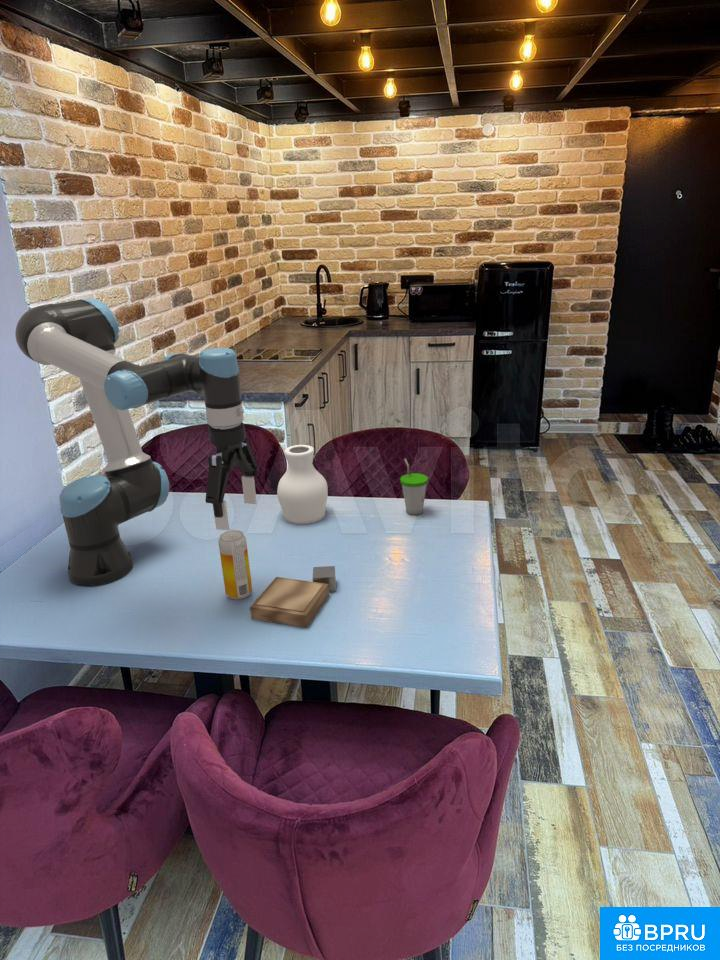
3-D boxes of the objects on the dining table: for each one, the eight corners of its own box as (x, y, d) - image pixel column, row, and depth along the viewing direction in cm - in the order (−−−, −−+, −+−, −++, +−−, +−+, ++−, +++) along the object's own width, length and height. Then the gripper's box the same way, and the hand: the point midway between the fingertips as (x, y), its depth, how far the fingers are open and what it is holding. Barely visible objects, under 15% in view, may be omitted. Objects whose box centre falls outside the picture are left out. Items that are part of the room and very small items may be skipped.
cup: (430, 517, 190) (429, 467, 184) (401, 518, 190) (400, 468, 184) (427, 505, 197) (426, 456, 191) (399, 507, 197) (398, 458, 192)
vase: (283, 529, 187) (276, 461, 180) (276, 508, 200) (269, 444, 193) (334, 521, 190) (329, 454, 183) (324, 502, 203) (319, 438, 196)
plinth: (251, 618, 147) (249, 605, 146) (277, 588, 159) (275, 575, 157) (307, 627, 143) (305, 614, 142) (329, 595, 155) (328, 583, 153)
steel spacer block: (313, 593, 156) (312, 578, 155) (314, 582, 161) (313, 567, 159) (335, 592, 156) (334, 576, 155) (335, 580, 161) (334, 565, 159)
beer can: (243, 584, 161) (236, 526, 155) (257, 594, 157) (250, 535, 151) (221, 593, 158) (212, 535, 152) (234, 604, 153) (226, 544, 147)
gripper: (213, 444, 131) (226, 543, 139) (267, 407, 153) (275, 494, 161) (179, 442, 133) (193, 539, 141) (236, 406, 155) (246, 492, 163)
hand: (237, 515), depth 151 cm, fingers open, 13 cm apart
